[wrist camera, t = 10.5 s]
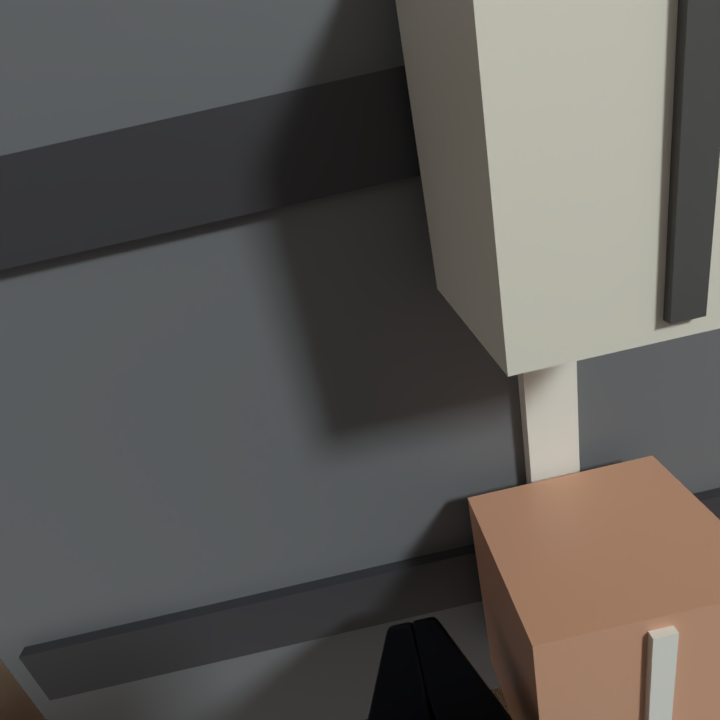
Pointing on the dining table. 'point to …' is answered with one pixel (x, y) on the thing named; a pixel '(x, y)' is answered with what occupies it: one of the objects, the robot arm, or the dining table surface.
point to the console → (256, 368)
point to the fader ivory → (569, 169)
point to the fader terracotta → (602, 595)
